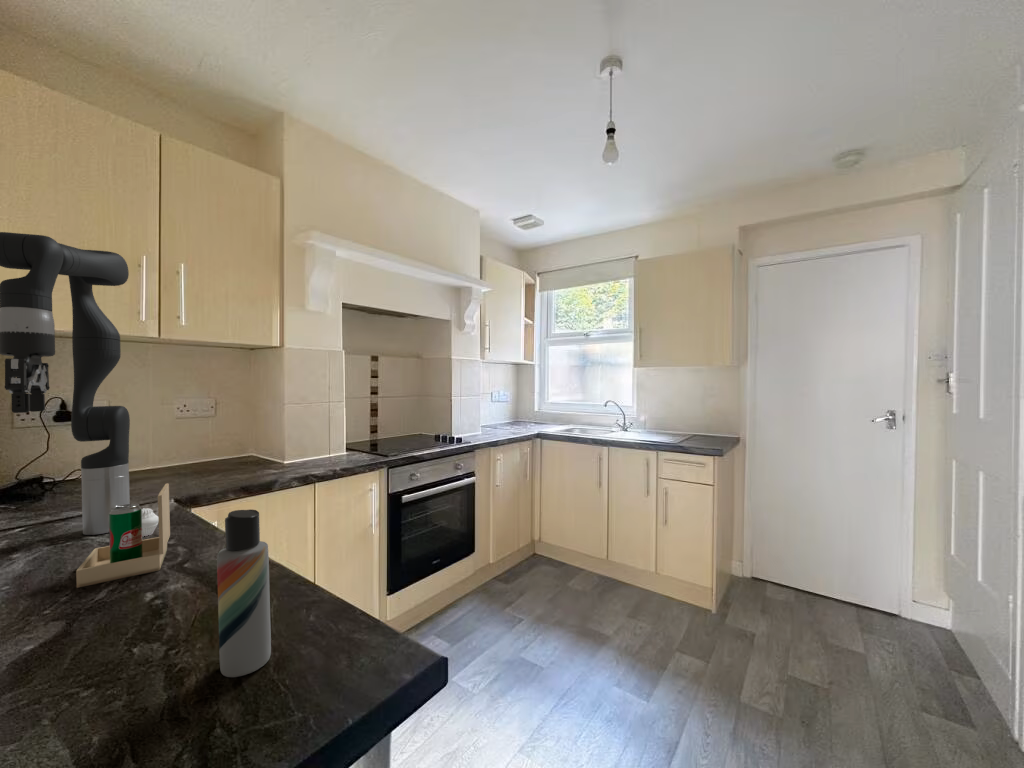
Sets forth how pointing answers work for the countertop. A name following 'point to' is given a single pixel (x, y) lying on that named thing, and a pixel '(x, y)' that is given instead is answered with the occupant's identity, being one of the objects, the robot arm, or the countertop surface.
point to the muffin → (148, 521)
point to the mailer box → (153, 556)
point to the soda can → (125, 532)
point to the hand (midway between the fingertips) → (29, 412)
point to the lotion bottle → (243, 596)
